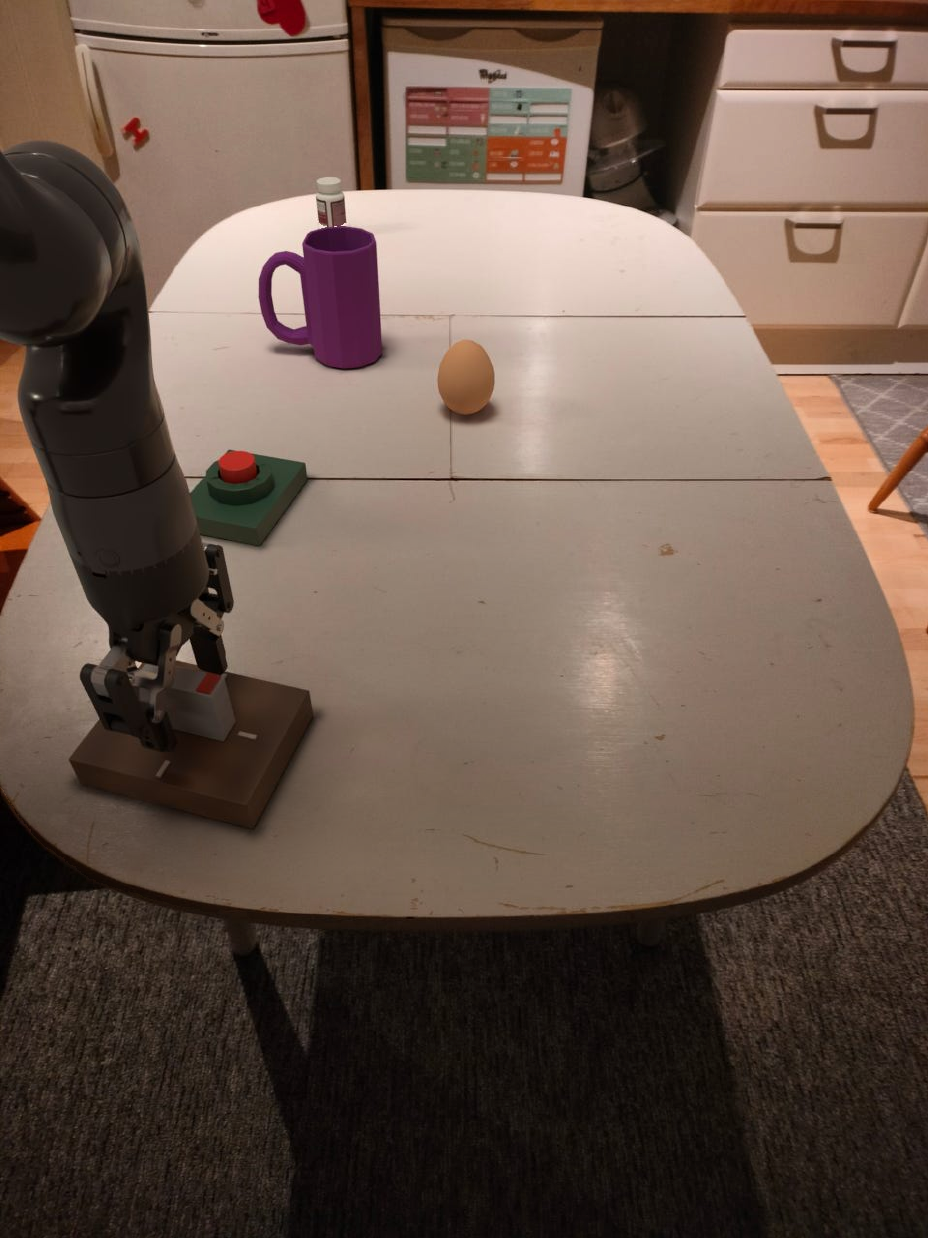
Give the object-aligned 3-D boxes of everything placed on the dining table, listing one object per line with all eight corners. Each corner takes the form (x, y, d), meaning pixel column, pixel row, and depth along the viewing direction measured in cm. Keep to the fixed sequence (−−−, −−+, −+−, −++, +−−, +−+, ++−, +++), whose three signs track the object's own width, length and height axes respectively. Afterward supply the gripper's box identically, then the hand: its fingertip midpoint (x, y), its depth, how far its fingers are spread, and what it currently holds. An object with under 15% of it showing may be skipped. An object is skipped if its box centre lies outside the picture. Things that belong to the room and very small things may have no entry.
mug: (378, 372, 110) (371, 254, 99) (259, 367, 110) (240, 249, 100) (386, 340, 116) (380, 226, 106) (274, 335, 117) (258, 221, 106)
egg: (494, 426, 100) (497, 355, 94) (437, 425, 100) (437, 354, 94) (492, 397, 105) (495, 328, 99) (437, 397, 105) (437, 328, 99)
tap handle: (150, 724, 63) (132, 676, 59) (164, 704, 64) (147, 656, 61) (223, 742, 62) (210, 694, 58) (236, 721, 63) (223, 674, 60)
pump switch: (259, 546, 83) (253, 513, 81) (177, 530, 85) (168, 497, 82) (307, 479, 92) (303, 447, 89) (232, 466, 93) (225, 434, 91)
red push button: (247, 487, 84) (244, 472, 83) (214, 481, 85) (211, 466, 84) (263, 468, 87) (260, 453, 86) (231, 462, 87) (228, 447, 86)
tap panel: (80, 784, 63) (67, 758, 61) (157, 678, 70) (148, 652, 68) (253, 829, 60) (246, 804, 58) (313, 715, 68) (309, 688, 66)
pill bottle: (348, 228, 147) (344, 175, 141) (346, 238, 144) (341, 184, 138) (320, 227, 147) (316, 175, 141) (317, 237, 144) (312, 184, 138)
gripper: (139, 453, 56) (190, 630, 68) (-2, 591, 46) (87, 772, 58) (242, 472, 55) (277, 649, 66) (121, 618, 45) (186, 798, 56)
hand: (188, 706), depth 62 cm, fingers open, 7 cm apart
